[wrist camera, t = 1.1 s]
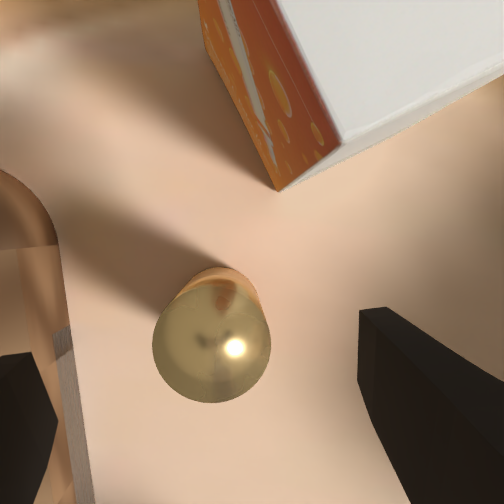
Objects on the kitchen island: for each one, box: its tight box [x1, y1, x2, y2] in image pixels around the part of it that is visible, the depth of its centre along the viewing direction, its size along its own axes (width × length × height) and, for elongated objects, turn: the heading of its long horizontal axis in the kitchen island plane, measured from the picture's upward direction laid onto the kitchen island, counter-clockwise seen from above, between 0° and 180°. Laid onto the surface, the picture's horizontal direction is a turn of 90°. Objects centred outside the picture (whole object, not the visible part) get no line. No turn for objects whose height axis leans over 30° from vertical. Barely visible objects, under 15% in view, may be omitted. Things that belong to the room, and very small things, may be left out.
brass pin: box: [152, 267, 271, 403], centre depth 18 cm, size 4×4×7 cm
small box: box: [198, 0, 504, 192], centre depth 14 cm, size 8×6×13 cm
